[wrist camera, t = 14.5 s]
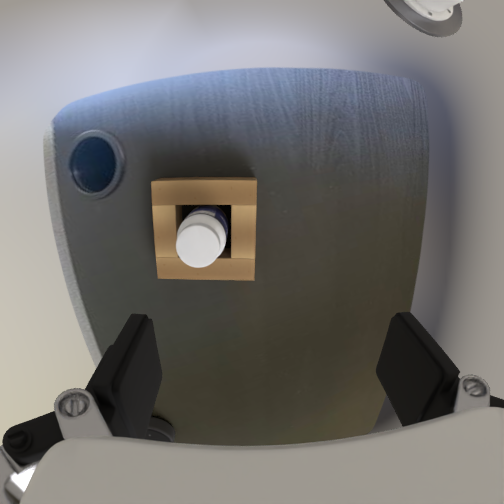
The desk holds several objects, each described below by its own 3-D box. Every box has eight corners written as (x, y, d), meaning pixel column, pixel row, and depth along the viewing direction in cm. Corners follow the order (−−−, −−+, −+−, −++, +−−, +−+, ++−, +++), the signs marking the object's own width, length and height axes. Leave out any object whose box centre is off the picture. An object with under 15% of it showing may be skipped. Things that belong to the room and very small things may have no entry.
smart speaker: (167, 414, 53) (164, 428, 49) (181, 437, 56) (178, 451, 52) (130, 413, 53) (126, 427, 49) (146, 436, 56) (142, 449, 52)
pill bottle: (229, 244, 41) (224, 273, 32) (188, 244, 41) (172, 272, 32) (228, 202, 39) (223, 220, 30) (186, 203, 39) (168, 221, 30)
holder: (159, 178, 38) (151, 181, 34) (255, 177, 38) (257, 180, 34) (164, 267, 42) (157, 278, 38) (253, 268, 42) (254, 280, 39)
